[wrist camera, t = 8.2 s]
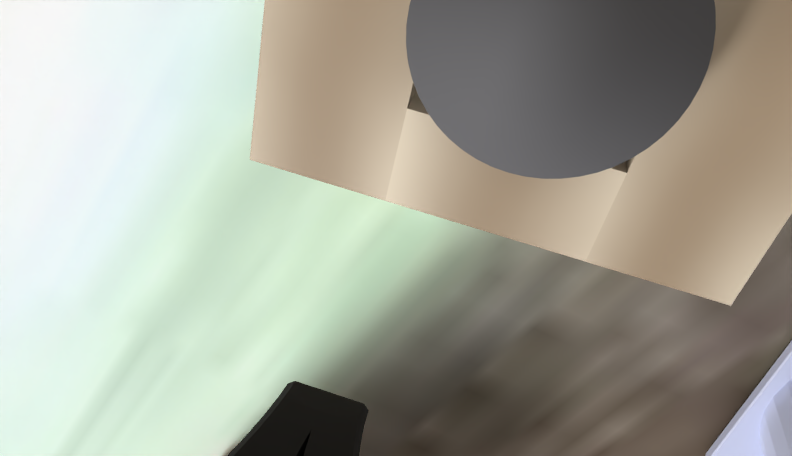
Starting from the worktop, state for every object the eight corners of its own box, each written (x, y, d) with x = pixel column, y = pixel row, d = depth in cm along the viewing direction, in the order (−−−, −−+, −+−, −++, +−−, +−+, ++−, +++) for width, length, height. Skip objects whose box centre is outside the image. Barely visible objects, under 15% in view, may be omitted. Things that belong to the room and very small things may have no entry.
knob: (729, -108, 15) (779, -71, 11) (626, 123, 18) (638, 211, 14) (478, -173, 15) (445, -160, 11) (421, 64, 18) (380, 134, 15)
